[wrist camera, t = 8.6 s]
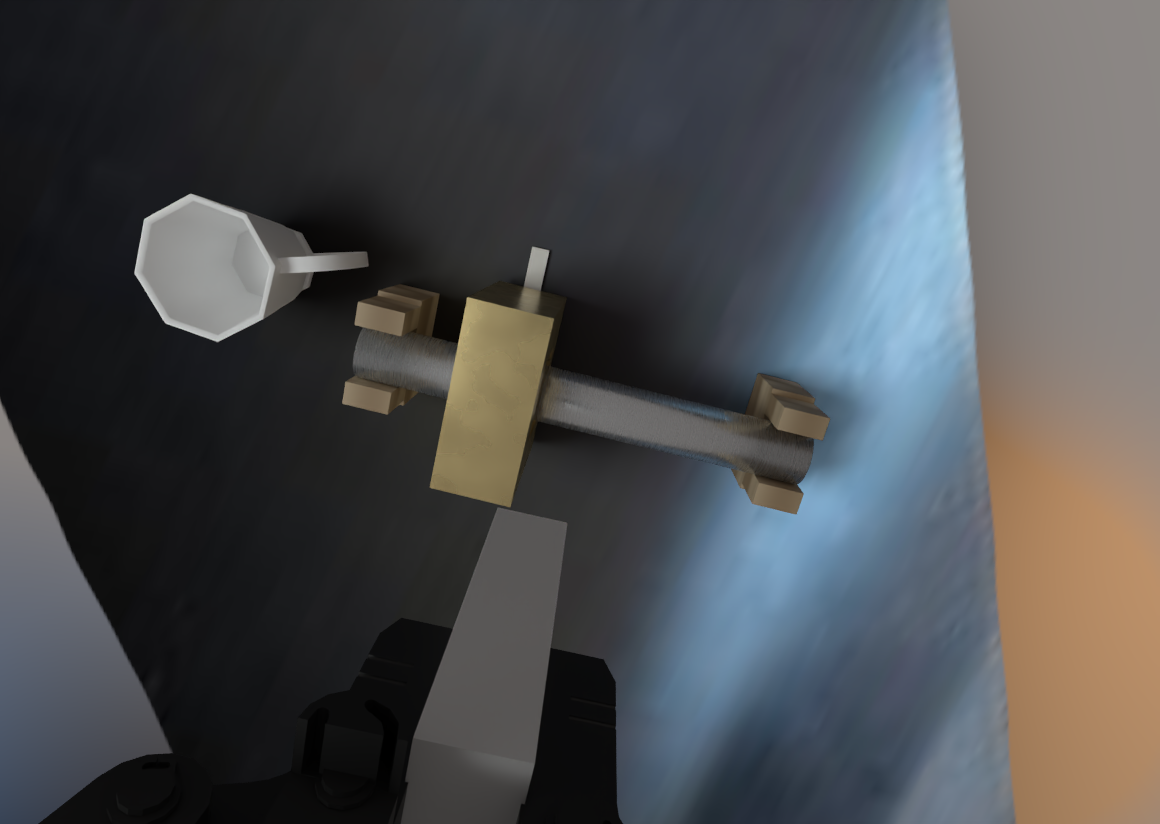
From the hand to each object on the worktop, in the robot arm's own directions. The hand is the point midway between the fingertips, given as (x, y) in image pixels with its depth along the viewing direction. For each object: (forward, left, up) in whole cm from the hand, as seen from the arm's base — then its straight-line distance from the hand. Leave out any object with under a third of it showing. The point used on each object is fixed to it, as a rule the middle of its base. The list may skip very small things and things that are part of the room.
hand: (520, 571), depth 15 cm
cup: (-1, -17, -28) cm, 33 cm away
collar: (+2, -3, -28) cm, 28 cm away
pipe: (+2, +1, -24) cm, 24 cm away
